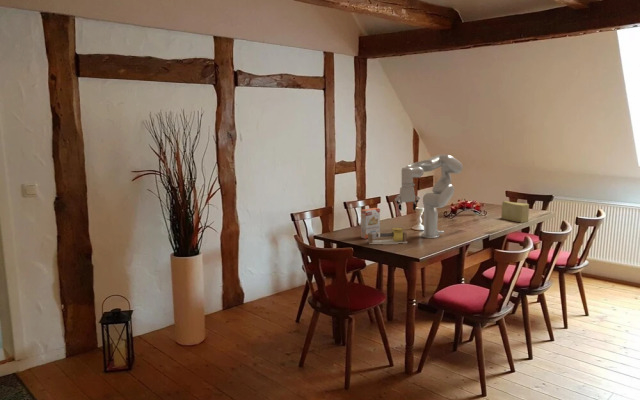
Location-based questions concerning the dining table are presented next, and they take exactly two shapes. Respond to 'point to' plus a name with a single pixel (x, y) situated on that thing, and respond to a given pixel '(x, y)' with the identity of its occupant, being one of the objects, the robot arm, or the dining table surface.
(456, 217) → the dining table surface
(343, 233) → the dining table surface
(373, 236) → the cord rail
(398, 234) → the yellow block
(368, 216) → the cracker box
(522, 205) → the cheese
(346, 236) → the dining table surface
